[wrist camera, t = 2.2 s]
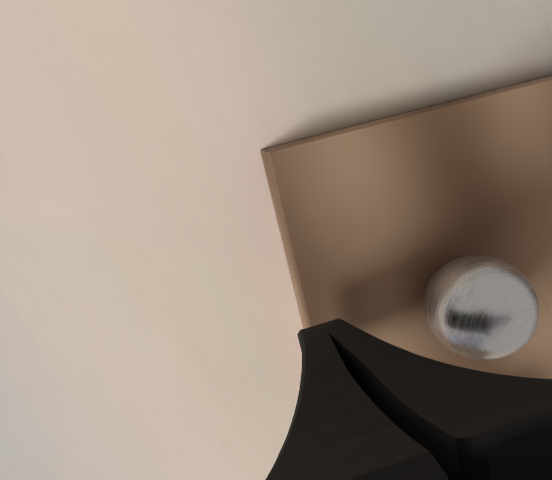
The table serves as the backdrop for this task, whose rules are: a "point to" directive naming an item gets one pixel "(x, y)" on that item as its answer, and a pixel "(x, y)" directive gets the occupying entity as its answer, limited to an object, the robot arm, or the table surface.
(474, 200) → the board
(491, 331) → the ball
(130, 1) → the table surface
